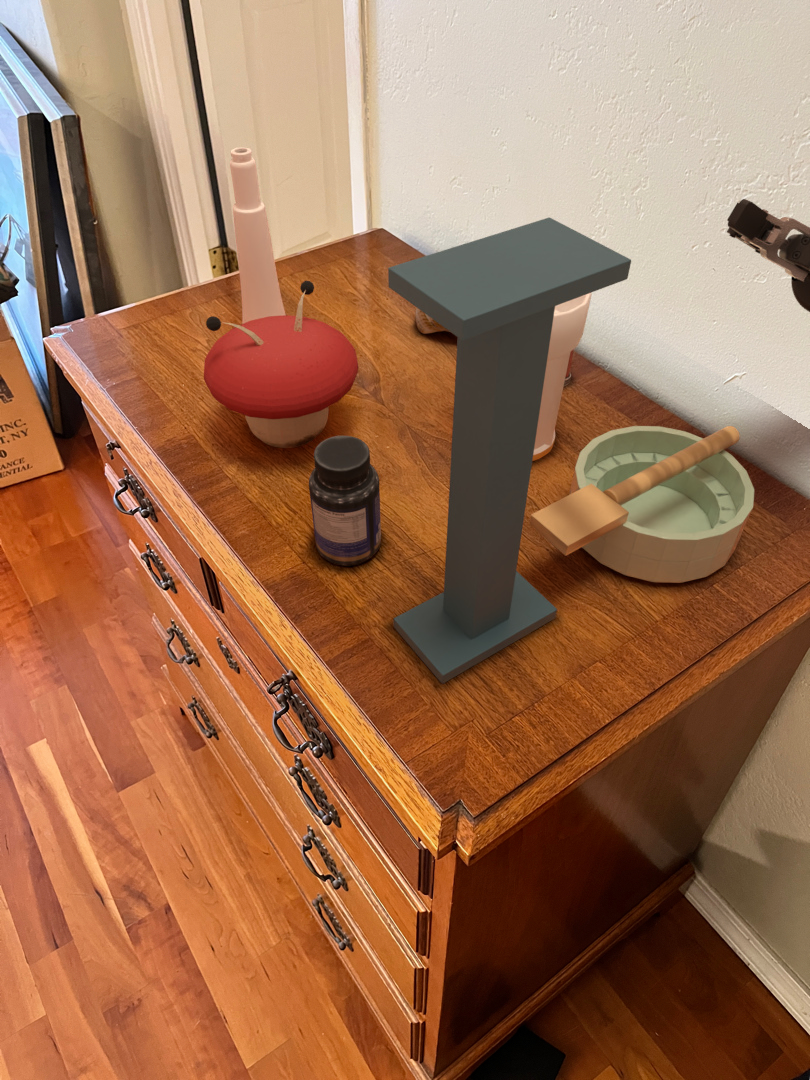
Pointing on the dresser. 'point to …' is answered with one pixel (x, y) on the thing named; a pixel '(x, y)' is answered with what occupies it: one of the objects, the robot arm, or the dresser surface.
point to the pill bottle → (345, 501)
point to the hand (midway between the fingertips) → (784, 232)
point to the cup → (558, 367)
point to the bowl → (667, 506)
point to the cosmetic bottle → (253, 242)
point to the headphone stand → (494, 423)
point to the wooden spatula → (618, 496)
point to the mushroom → (281, 374)
